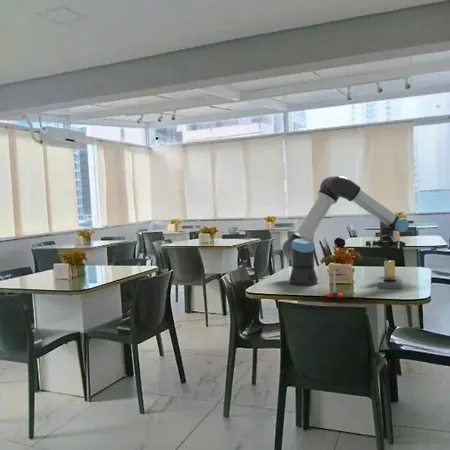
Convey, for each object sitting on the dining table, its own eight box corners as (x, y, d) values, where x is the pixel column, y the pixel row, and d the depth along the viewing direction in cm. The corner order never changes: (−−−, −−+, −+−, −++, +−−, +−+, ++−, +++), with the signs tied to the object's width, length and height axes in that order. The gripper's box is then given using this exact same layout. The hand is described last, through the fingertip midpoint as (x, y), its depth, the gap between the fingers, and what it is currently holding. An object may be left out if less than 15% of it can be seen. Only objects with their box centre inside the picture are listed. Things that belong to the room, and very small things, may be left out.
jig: (377, 288, 239) (377, 282, 239) (378, 284, 248) (378, 278, 248) (401, 288, 235) (401, 282, 235) (401, 285, 245) (401, 279, 245)
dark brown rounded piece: (326, 268, 307) (325, 237, 306) (349, 268, 306) (349, 236, 305) (330, 272, 292) (329, 239, 291) (354, 271, 291) (354, 238, 290)
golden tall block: (384, 287, 240) (384, 261, 240) (384, 285, 245) (384, 260, 244) (395, 287, 239) (394, 261, 238) (395, 285, 243) (394, 260, 243)
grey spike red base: (324, 295, 229) (325, 298, 220) (324, 268, 229) (325, 270, 220) (342, 295, 228) (344, 298, 219) (342, 267, 228) (343, 270, 218)
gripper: (409, 249, 267) (410, 253, 247) (363, 247, 276) (360, 251, 256) (409, 236, 267) (410, 238, 247) (363, 234, 276) (360, 237, 256)
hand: (384, 245), depth 251 cm, fingers open, 13 cm apart
